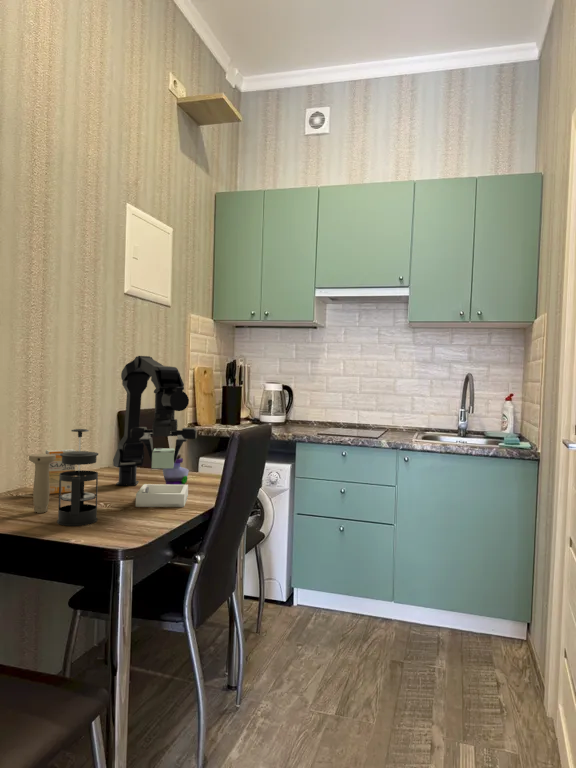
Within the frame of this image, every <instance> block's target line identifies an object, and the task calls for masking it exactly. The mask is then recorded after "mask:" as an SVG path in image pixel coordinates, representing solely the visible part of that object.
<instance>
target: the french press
mask: <svg viewBox="0 0 576 768" xmlns="http://www.w3.org/2000/svg"><path fill="white" fill-rule="evenodd" d="M70 431H71V432H72V433H73V432H75V433H77V438H78V450H75V451H73V452H66V453H61V454H60V456H62V463H63V464H68V465H75V466H77V469H78V470H75V471H67V472H62V473H60V476H59V493H58V511H57V512H58V513H57V514H58V517H57V518H58V519H57V521H56V523H57V525H59V524H60V526H63V525H64V526H65V527H82V525H84V526H88V524H89V525H92V523H93V524H95V523H97V522H98V517H97V516H98V515H97V512H98V488H99V487H98V486H99V485H98V483H99V478H98V477H99V473H98V472H97V471H94V470H81V466H82V465H94V464H96V463H97V458H98V457H97V456H99V453H98V452H95V451H87V450H81V444H82V443H81V442H82V441H81V439H82V438H83V432H84V433H87V432H89V431H90V430H89V429H85V428H75V429H71V430H70ZM61 481H66V482H72V485H71V492H67V493H63V494H62V493H61ZM91 481H95V482H96V484H95V493H93V492H86V491H85V482H91ZM94 499H95V505H94V504H88V503H84V502H86V501H92V500H94ZM62 501H65V502H70V504H67V505H64V506H61V503H62ZM64 526H63V527H64Z"/></svg>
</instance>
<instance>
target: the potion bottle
mask: <svg viewBox="0 0 576 768" xmlns="http://www.w3.org/2000/svg"><path fill="white" fill-rule="evenodd" d="M181 455H182V454H181V453H178V456H177V459H176V462H175V463H174V467H173V468H162V473H163V479H164V481H165V484H170V485H186V484H187V482H188V475H189V471H190V470H189V469H188V468H187V467H181V464H182V463H183V461H184V459H183V457H182V456H181Z"/></svg>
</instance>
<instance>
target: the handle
mask: <svg viewBox="0 0 576 768" xmlns="http://www.w3.org/2000/svg"><path fill="white" fill-rule="evenodd" d="M55 458H56V455H53V454H46V453H38V454H37V453H35V454H30V455H29V454H28V461H29V462H31V463H33V464H34V476H33V477H34V478H33V488H32V489H33V491H32V497H33V500H32V501H33V512H34V513H36V512H37V514H42V513H44V512H45V513H47V512H48V510H49V506H48V505H49V502H50V495H51V494H50V490H49V489H50V485H49V464H50V463H51V462H53V461H54V460H55ZM46 511H47V512H46Z"/></svg>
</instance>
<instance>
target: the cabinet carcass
mask: <svg viewBox="0 0 576 768" xmlns="http://www.w3.org/2000/svg"><path fill="white" fill-rule="evenodd" d="M187 497H189V484H185V485H170V484H166V483H165V484H160V483H159V484H155V483H154V484H153V483H152V484H151V483H148V484H147V483H144V484H143V485H142V486H141V487H140V489H138V490H137V492H136V493H135V507H138V508H140V507H141V508H160V507H161V508H162V507H163V508H174V507H175V508H184V507H185V505H186V503H187V500H188V498H187Z"/></svg>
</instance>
